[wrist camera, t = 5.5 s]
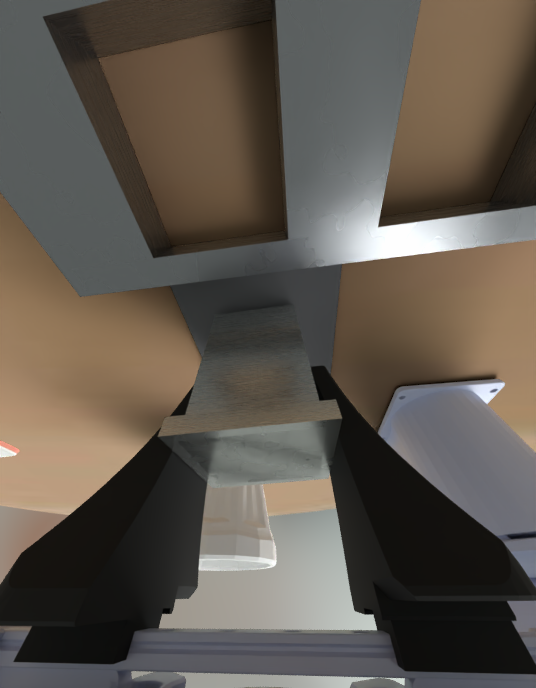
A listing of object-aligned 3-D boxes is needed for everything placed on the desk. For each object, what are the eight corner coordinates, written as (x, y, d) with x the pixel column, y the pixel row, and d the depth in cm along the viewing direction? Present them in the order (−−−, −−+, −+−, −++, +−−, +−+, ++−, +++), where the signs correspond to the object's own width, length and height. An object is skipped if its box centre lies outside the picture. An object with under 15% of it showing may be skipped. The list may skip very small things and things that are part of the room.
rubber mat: (328, 377, 16) (329, 381, 16) (218, 387, 17) (217, 391, 16) (339, 260, 10) (342, 262, 10) (172, 281, 11) (169, 284, 11)
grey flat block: (549, 222, 9) (607, 230, 8) (107, 280, 11) (80, 296, 9) (826, -204, 4) (1145, -426, 3) (-60, 19, 6) (-176, -39, 4)
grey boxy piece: (301, 363, 14) (328, 478, 9) (229, 371, 14) (213, 488, 9) (300, 296, 11) (342, 418, 5) (206, 309, 11) (157, 436, 6)
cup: (178, 455, 25) (141, 568, 17) (197, 414, 19) (154, 555, 12) (253, 469, 27) (249, 571, 20) (289, 436, 22) (300, 562, 14)
